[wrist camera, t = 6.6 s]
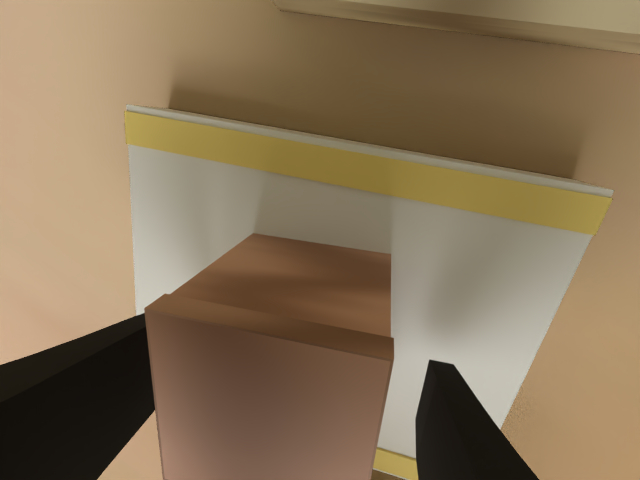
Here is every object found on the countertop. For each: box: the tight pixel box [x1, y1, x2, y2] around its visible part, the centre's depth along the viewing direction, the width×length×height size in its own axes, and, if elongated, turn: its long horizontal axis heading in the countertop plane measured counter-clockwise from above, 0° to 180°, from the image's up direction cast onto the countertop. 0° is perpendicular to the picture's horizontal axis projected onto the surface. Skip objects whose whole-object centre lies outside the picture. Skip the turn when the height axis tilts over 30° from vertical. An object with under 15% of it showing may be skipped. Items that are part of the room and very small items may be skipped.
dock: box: [124, 104, 614, 480], centre depth 12 cm, size 14×12×2 cm
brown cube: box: [144, 233, 394, 480], centre depth 9 cm, size 5×5×5 cm
